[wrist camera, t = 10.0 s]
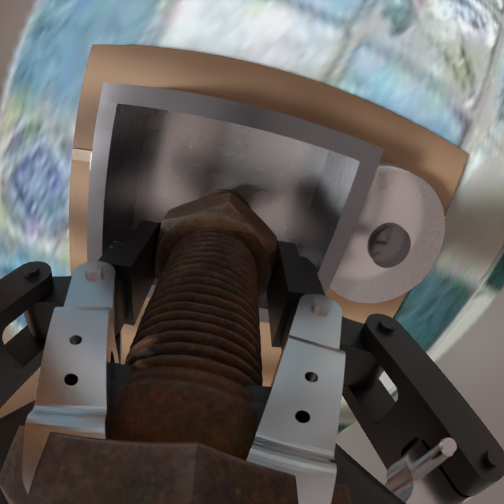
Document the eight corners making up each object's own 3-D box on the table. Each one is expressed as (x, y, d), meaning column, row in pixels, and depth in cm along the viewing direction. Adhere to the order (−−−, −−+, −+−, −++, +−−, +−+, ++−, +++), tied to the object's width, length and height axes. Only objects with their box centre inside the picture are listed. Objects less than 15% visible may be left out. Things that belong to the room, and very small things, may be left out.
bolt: (265, 155, 14) (381, 568, 1) (287, 244, 17) (354, 562, 3) (156, 186, 15) (-47, 474, 2) (187, 268, 17) (117, 555, 4)
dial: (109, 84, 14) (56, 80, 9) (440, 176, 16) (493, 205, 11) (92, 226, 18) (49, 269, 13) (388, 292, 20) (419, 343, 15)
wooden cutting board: (104, 48, 14) (90, 44, 12) (453, 149, 17) (469, 154, 16) (88, 340, 25) (80, 354, 23) (332, 386, 28) (336, 401, 27)
